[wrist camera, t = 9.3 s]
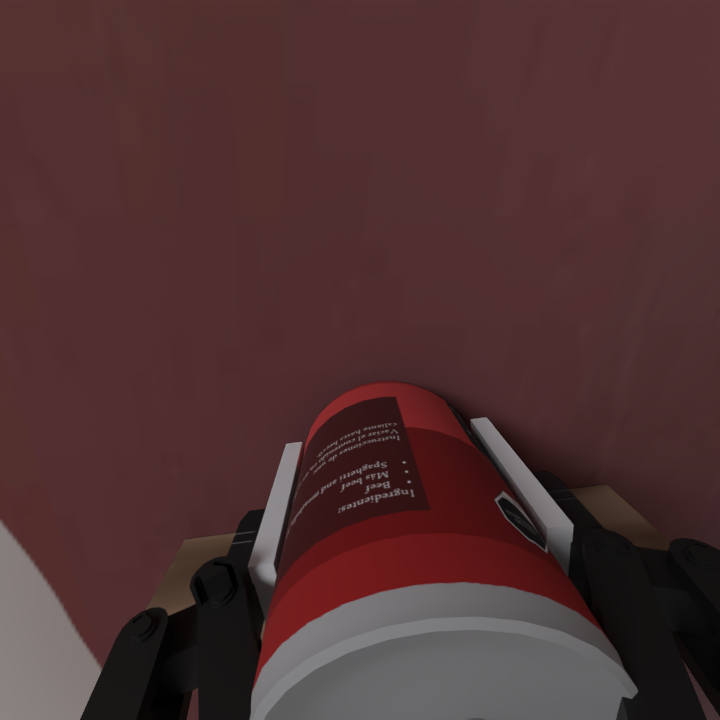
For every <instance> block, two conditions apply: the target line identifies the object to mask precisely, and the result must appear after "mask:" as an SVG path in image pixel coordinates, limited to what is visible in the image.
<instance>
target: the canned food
mask: <svg viewBox="0 0 720 720" xmlns="http://www.w3.org/2000/svg"><path fill="white" fill-rule="evenodd" d="M637 693H638V690H637V687H636V686H635V684H634V683H633V681H632V680H631V678H630V677H629V675H628V673H627V672H626V670H625V669H624V667H623V664H622V662H621V660H620V657H619V655H618V652H617V651H616V649H615V648H614V646H613V645H612V643H611V642H610V640H609V639H608V637H607V636H606V634H605V633H604V631H603V630H602V628H601V627H600V625H599V624H598V622H597V621H596V619H595V618H594V616H593V615H592V613H591V612H590V610H589V608H588V606H587V605H586V603H585V601H584V599H583V598H582V596H581V595H580V593H579V592H578V590H577V589H576V587H575V586H574V584H573V583H572V581H571V580H570V579H569V577H568V576H567V574H566V573H565V571H564V570H563V568H562V567H561V565H560V564H559V562H558V561H557V559H556V558H555V556H554V555H553V553H552V552H551V550H550V549H549V547H548V546H547V544H546V543H545V541H544V540H543V538H542V537H541V535H540V534H539V532H538V531H537V529H536V528H535V526H534V525H533V524H532V522H531V521H530V519H529V518H528V516H527V515H526V513H525V512H524V510H523V509H522V507H521V506H520V504H519V503H518V501H517V500H516V498H515V497H514V495H513V494H512V492H511V491H510V489H509V488H508V486H507V485H506V483H505V482H504V480H503V479H502V477H501V476H500V474H499V473H498V472H497V470H496V469H495V467H494V466H493V464H492V463H491V461H490V460H489V458H488V457H487V455H486V454H485V452H484V451H483V449H482V448H481V446H480V445H479V443H478V442H477V440H476V439H475V437H474V436H473V434H472V433H471V431H470V430H469V428H468V427H467V425H466V424H465V422H464V421H463V420H462V418H461V417H460V416H459V414H458V413H457V411H456V410H455V409H454V408H453V407H452V406H450V405H449V404H448V403H447V402H446V401H445V400H444V399H442V398H440V397H439V396H437V395H435V394H433V393H432V392H430V391H428V390H426V389H423V388H420V387H418V386H415V385H412V384H409V383H403V382H397V381H377V382H372V383H367V384H363V385H360V386H358V387H355V388H353V389H350V390H348V391H346V392H345V393H343V394H342V395H340V396H339V397H337V398H336V399H335V400H334V401H332V402H331V403H330V404H329V405H328V406H327V407H326V408H325V409H324V410H323V411H322V412H321V413H320V415H319V416H318V418H317V419H316V421H315V422H314V424H313V425H312V427H311V430H310V433H309V435H308V438H307V442H306V446H305V451H304V455H303V460H302V464H301V468H300V473H299V477H298V482H297V486H296V491H295V495H294V500H293V504H292V509H291V513H290V518H289V522H288V527H287V531H286V536H285V540H284V545H283V549H282V554H281V558H280V563H279V567H278V571H277V576H276V580H275V585H274V589H273V594H272V598H271V603H270V607H269V612H268V616H267V621H266V625H265V630H264V634H263V641H262V648H261V653H260V657H259V662H258V667H257V671H256V676H255V681H254V685H253V690H252V697H251V715H250V720H616V718H617V713H618V709H619V706H620V702H621V699H622V697H626V698H630V699H632V698H633V697H634V696H635V695H636V694H637Z"/></svg>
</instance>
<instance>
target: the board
mask: <svg viewBox="0 0 720 720" xmlns="http://www.w3.org/2000/svg"><path fill="white" fill-rule="evenodd" d="M568 490H569V491H571V492H572V493H573V494H574V495H575V497H576V499H578V500H579V501H580V502H581V503H582V504H583V505H584V506H585V508H586V509H587V510H588V511H589V512H590V513H591V514H592V515H593V516H594V517H595V519H596V520H597V521H598V522H599V523H600V524H601V525H602V526H603V527H604V528H605V529H607V530H611V531H614V532H616V533H618V534H620V535H622V536H624V537H625V538H627V539H628V540H629V541H630V542H632V543H633V545H634V546H638V547H643V548H651V549H658V550H666V551H668V550H669V545H670V543H671V542H670V541H668V540H667V539H666V538H665V537H664V536H663V535H662V534H661V533H660V532H659V531H658V530H656V529H655V528H654V527H653V526H652V525H651V524H650V523H649V522H648V521H647V520H646V519H644V518H643V517H642V516H641V515H640V514H639V513H638V512H637V511H636V510H635V509H633V508H632V507H631V506H630V505H629V504H628V503H627V502H626V501H625V500H624V499H623V498H621V497H620V496H619V495H618V494H617V493H616V492H615V491H614V490H613V489H612V488H611V487H609V486H608V485H607V484H606V485H598V486H590V487H583V488H575V489H568ZM235 535H236V533H231V534H223V535H216V536H208V537H200V538H193V539H185V540H184V542H183V544H182V546H181V547H180V549H179V551H178V553H177V555H176V556H175V558H174V560H173V562H172V564H171V565H170V567H169V569H168V571H167V572H166V574H165V576H164V578H163V580H162V581H161V583H160V585H159V587H158V589H157V590H156V592H155V594H154V596H153V597H152V599H151V601H150V603H149V605H148V606H147V608H146V610H147V609H150V608H154V607H161V608H163V609H166V611H167V613H168V616H169V615H171V614H174V613H176V612H178V611H181V610H183V609H186V608H188V607H190V606H192V605H194V604H196V603H195V600H194V597H193V595H192V592H191V590H190V587H189V586H190V582H191V578H192V577H193V575H194V574H195V572H196V571H197V570H198V569H199V568H200V567H201V566H202V565H203V564H204V563H206V562H208V561H210V560H211V559H213V558H217V557H220V556H227V554H228V552H229V549H230V547H231V545H232V541H233V539H234V536H235ZM264 630H265V623H263V628H262V632H261V636H260V637H261V640H262V641H263V634H264Z"/></svg>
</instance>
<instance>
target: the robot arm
mask: <svg viewBox="0 0 720 720" xmlns="http://www.w3.org/2000/svg"><path fill="white" fill-rule="evenodd" d="M470 425H471V433H472V434H473V436H474V437H475V439H476V440H477V442H478V443H479V445H480V446H481V448H482V449H483V451H484V452H485V454H486V455H487V457H488V458H489V460H490V461H491V463H492V464H493V466H494V467H495V469H496V470H497V472H498V473H499V474H500V476H501V477H502V479H503V480H504V482H505V483H506V485H507V486H508V488H509V489H510V491H511V492H512V494H513V495H514V497H515V498H516V500H517V501H518V503H519V504H520V506H521V507H522V509H523V510H524V512H525V513H526V515H527V516H528V518H529V519H530V521H531V522H532V524H533V525H534V526H535V528H536V529H537V531H538V532H539V534H540V535H541V537H542V538H543V540H544V541H545V543H546V544H547V546H548V547H549V549H550V550H551V552H552V553H553V555H554V556H555V558H556V559H557V561H558V562H559V564H560V565H561V567H562V568H563V570H564V571H565V573H566V574H567V576H568V577H569V579H570V580H571V581H572V583H573V584H574V586H575V587H576V589H577V590H578V592H579V593H580V595H581V596H582V598H583V599H584V601H585V603H586V605H587V606H588V608H589V610H590V612H591V613H592V615H593V616H594V618H595V619H596V621H597V622H598V624H599V625H600V627H601V628H602V630H603V631H604V633H605V634H606V636H607V637H608V639H609V640H610V642H611V643H612V645H613V646H614V648H615V649H616V651H617V652H618V655H619V657H620V660H621V662H622V664H623V667H624V669H625V670H626V672H627V673H628V675H629V677H630V678H631V680H632V681H633V683H634V684H635V686H636V687H637V690H638V693H637V694H636V695H635V696H634V697H633V698H632V699H630V698H626V697H622V699H621V702H620V706H619V709H618V713H617V718H616V720H707V719H706V717H705V714H704V712H703V709H702V707H701V704H700V702H699V699H698V697H697V695H696V692H695V690H694V687H693V685H692V682H691V680H690V677H689V675H688V673H687V670H686V668H685V665H684V663H683V661H684V662H685V664H686V665H687V667H688V668H689V670H690V671H691V673H692V675H693V676H694V678H695V679H696V681H697V682H698V684H699V685H700V687H701V688H702V690H703V692H704V693H705V695H706V696H707V698H708V699H709V701H710V702H711V704H712V705H713V707H714V708H715V710H716V712H717V713H718V715H719V716H720V550H718V549H716V548H714V547H712V546H710V545H708V544H706V543H703V542H700V541H697V540H693V539H686V538H681V539H675V540H673V541H672V542H671V543H670V545H669V550H668V551H666V550H658V549H651V548H643V547H638V546H634V545H633V543H632V542H630V541H629V540H628V539H627V538H625V537H624V536H622V535H620V534H618V533H616V532H614V531H611V530H607V529H605V528H604V527H603V526H602V525H601V524H600V523H599V522H598V521H597V520H596V519H595V517H594V516H593V515H592V514H591V513H590V512H589V511H588V510H587V509H586V508H585V506H584V505H583V504H582V503H581V502H580V501H579V500H578V499H576V497H575V495H574V494H573V493H572V492H571V491H569V490H568V488H567V487H566V486H565V484H564V483H563V482H562V481H561V480H560V479H559V478H557V477H555V476H554V475H552V474H550V473H549V472H547V471H543V472H535V473H531V472H530V470H529V469H528V468H527V467H526V465H525V464H524V463H523V462H522V461H521V459H520V458H519V457H518V456H517V454H516V453H515V452H514V451H513V449H512V448H511V447H510V446H509V444H508V443H507V442H506V441H505V440H504V438H503V437H502V436H501V435H500V433H499V432H498V431H497V430H496V428H495V427H494V426H493V425H492V423H491V422H490V421H489V420H488V419H487V417H484V418H477V419H470ZM303 455H304V448H303V443H302V442H297V443H289V444H286V446H285V449H284V452H283V456H282V459H281V462H280V465H279V468H278V471H277V475H276V478H275V481H274V484H273V487H272V491H271V494H270V497H269V500H268V503H267V506H266V509H260V510H253V511H249V512H248V513H247V514H246V516H245V517H244V518H243V519H242V520H241V521H240V524H239V526H238V529H237V531H236V535H235V536H234V539H233V541H232V545H231V547H230V549H229V552H228V554H227V556H220V557H217V558H213V559H211V560H210V561H208V562H206V563H204V564H203V565H202V566H201V567H200V568H199V569H198V570H197V571H196V572H195V574H194V575H193V577H192V578H191V582H190V586H189V587H190V590H191V592H192V595H193V597H194V600H195V603H196V604H194V605H192V606H190V607H188V608H186V609H183V610H181V611H178V612H176V613H174V614H171V615H169V616H168V613H167V611H166V609H163V608H161V607H154V608H150V609H147V610H145V611H142V612H141V613H139V614H138V615H136V616H135V617H133V618H132V619H131V620H130V621H129V622H128V623H127V624H126V625H125V626H124V627H123V628H122V630H121V632H120V633H119V635H118V636H117V638H116V640H115V643H114V645H113V647H112V649H111V652H110V654H109V656H108V658H107V660H106V663H105V665H104V667H103V669H102V672H101V674H100V676H99V678H98V681H97V683H96V685H95V687H94V690H93V692H92V694H91V696H90V699H89V701H88V703H87V705H86V707H85V710H84V712H83V714H82V716H81V719H80V720H186V719H187V714H188V710H189V705H190V700H191V696H192V691H193V690H194V689H196V688H198V700H199V720H250V715H251V697H252V690H253V685H254V681H255V676H256V671H257V667H258V662H259V657H260V653H261V648H262V640H261V637H260V636H261V632H262V628H263V623H265V625H266V621H267V616H268V612H269V607H270V603H271V598H272V594H273V589H274V585H275V580H276V576H277V571H278V567H279V563H280V558H281V554H282V549H283V545H284V540H285V536H286V531H287V527H288V522H289V518H290V513H291V509H292V504H293V500H294V495H295V491H296V486H297V482H298V477H299V473H300V468H301V464H302V460H303ZM682 659H683V660H682Z"/></svg>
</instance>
